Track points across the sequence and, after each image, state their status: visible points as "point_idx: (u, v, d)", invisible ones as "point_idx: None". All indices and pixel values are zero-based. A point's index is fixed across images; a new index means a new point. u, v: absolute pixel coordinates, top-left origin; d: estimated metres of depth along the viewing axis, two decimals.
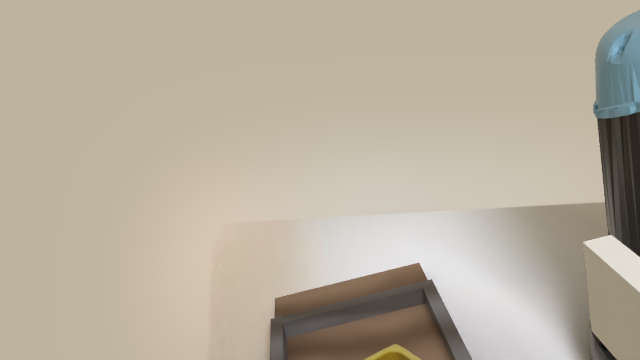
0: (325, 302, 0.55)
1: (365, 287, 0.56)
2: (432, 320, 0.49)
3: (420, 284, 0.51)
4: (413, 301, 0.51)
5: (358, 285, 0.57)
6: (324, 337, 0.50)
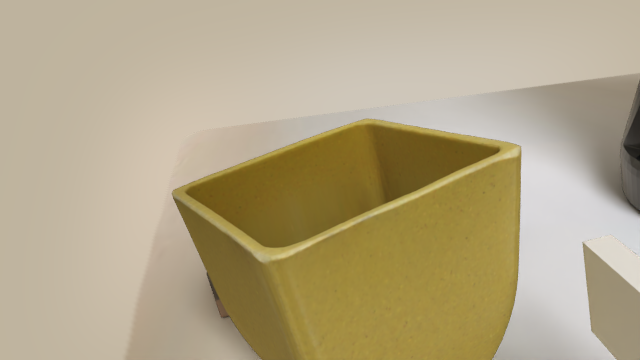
0: None
1: None
2: None
3: None
4: None
5: None
6: None
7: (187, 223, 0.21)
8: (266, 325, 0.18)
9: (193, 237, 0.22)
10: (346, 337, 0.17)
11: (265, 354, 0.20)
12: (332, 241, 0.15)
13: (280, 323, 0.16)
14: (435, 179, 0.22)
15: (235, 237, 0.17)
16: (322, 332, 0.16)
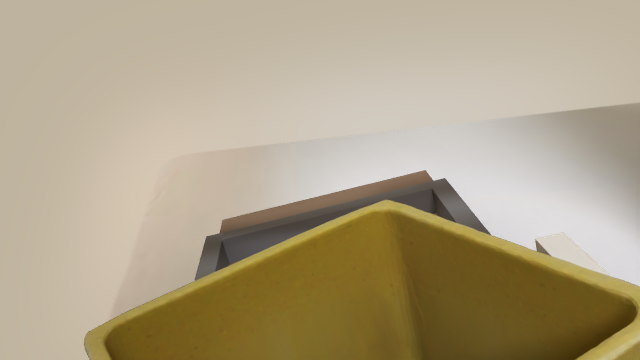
0: None
1: (348, 200, 0.39)
2: None
3: (428, 184, 0.35)
4: None
5: (339, 199, 0.40)
6: None
7: None
8: None
9: None
10: None
11: None
12: None
13: None
14: (500, 314, 0.14)
15: None
16: None
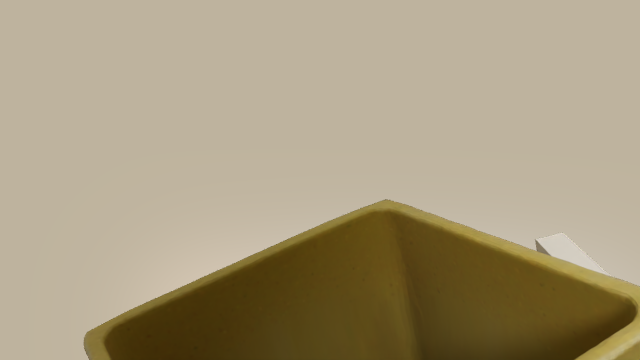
0: None
1: None
2: None
3: None
4: None
5: None
6: None
7: None
8: None
9: None
10: None
11: None
12: None
13: None
14: (499, 314, 0.14)
15: None
16: None
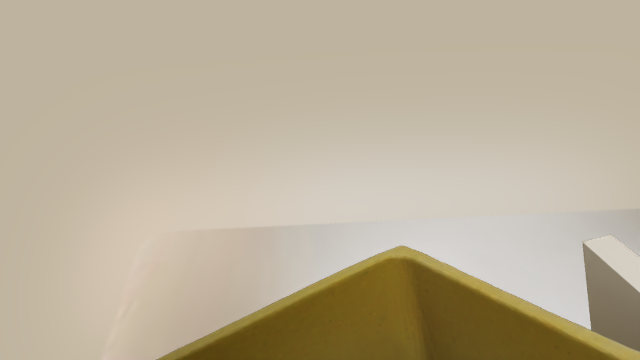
0: None
1: None
2: None
3: None
4: None
5: None
6: None
7: None
8: None
9: None
10: None
11: None
12: None
13: None
14: None
15: None
16: None
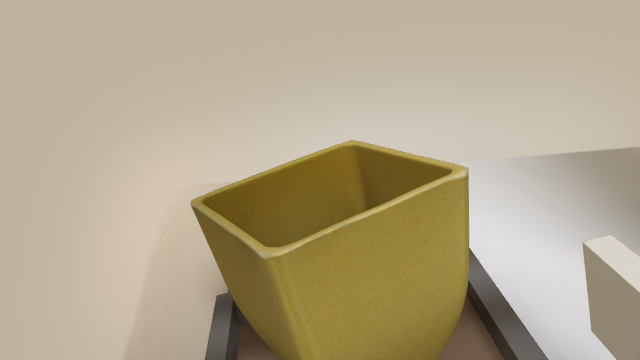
0: None
1: None
2: None
3: None
4: None
5: None
6: None
7: (203, 227, 0.26)
8: (266, 308, 0.23)
9: (208, 239, 0.27)
10: (328, 317, 0.21)
11: (266, 333, 0.25)
12: (316, 243, 0.20)
13: (277, 305, 0.21)
14: (405, 192, 0.27)
15: (243, 239, 0.21)
16: (309, 312, 0.21)
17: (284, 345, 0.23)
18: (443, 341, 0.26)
